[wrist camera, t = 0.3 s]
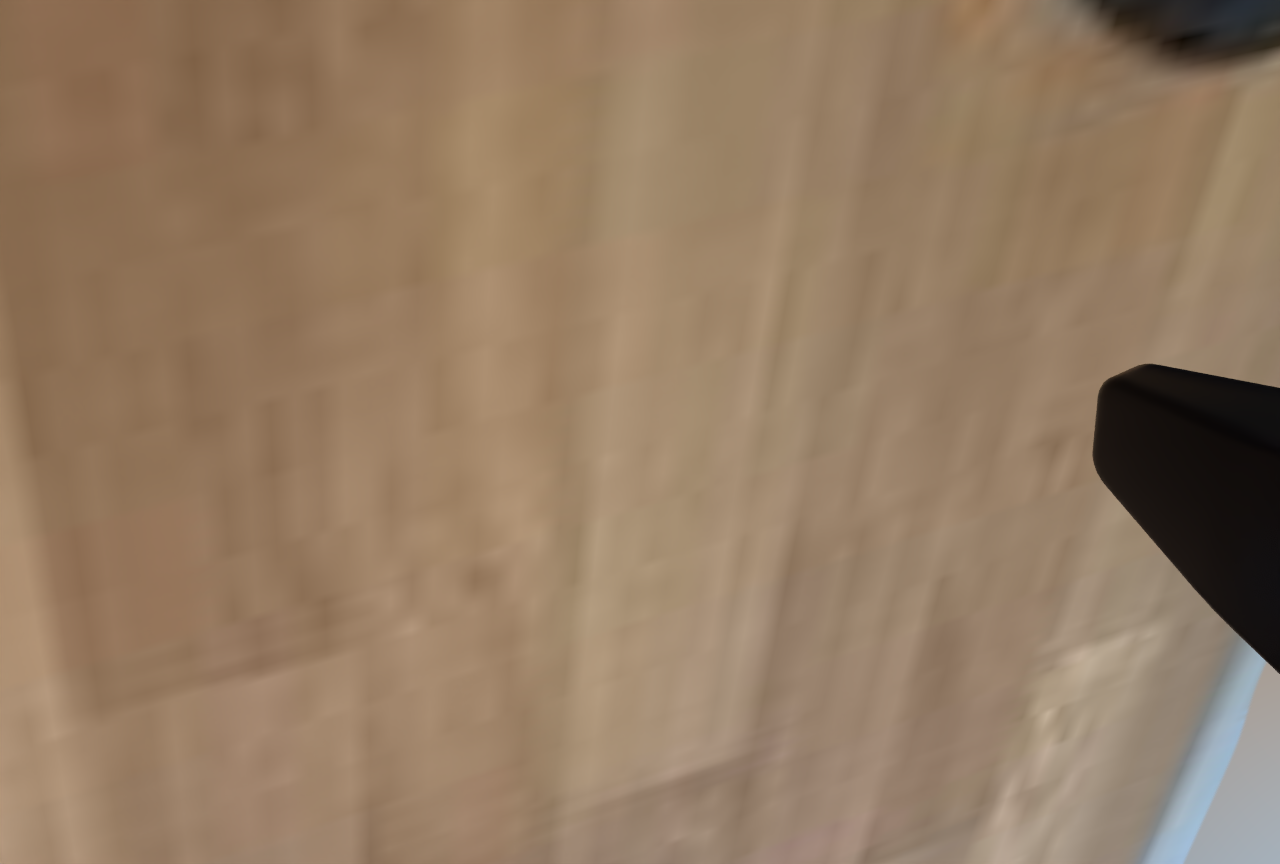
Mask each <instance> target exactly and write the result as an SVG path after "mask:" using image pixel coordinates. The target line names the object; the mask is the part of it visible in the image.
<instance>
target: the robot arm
mask: <svg viewBox="0 0 1280 864" xmlns="http://www.w3.org/2000/svg"><path fill="white" fill-rule="evenodd" d="M1093 461H1094V465H1095V468H1096V471H1097V473H1098V475H1099V476H1100V478H1101V480H1102V481H1103V483H1104V484H1105V485H1106V486H1107V488H1108V489H1109V490H1110V491H1111V492H1112V493H1113V495H1114V496H1115V497H1116V498H1117V499H1118V500H1119V502H1120V503H1121V504H1122V505H1123V506H1124V507H1125V509H1126V510H1127V511H1128V512H1129V513H1130V514H1131V516H1132V517H1133V518H1134V519H1135V520H1136V521H1137V523H1138V524H1139V525H1140V526H1141V527H1142V528H1143V529H1144V531H1145V532H1146V533H1147V534H1148V535H1149V536H1150V538H1151V539H1152V540H1153V541H1154V542H1155V543H1156V545H1157V546H1158V547H1159V548H1160V549H1161V550H1162V552H1163V553H1164V554H1165V555H1166V556H1167V557H1168V559H1169V560H1170V561H1171V562H1172V563H1173V564H1174V566H1175V567H1176V568H1177V569H1178V570H1179V571H1180V573H1181V574H1182V575H1183V576H1184V577H1185V578H1186V580H1187V581H1188V582H1189V583H1190V584H1191V585H1192V587H1193V588H1194V589H1195V590H1196V591H1197V592H1198V593H1199V594H1200V595H1201V597H1202V598H1203V599H1204V600H1205V601H1206V602H1207V603H1208V604H1209V605H1210V606H1211V608H1212V609H1213V610H1214V611H1215V612H1216V613H1217V614H1218V615H1219V616H1220V617H1221V618H1222V619H1223V620H1224V621H1225V622H1226V623H1227V624H1228V625H1229V626H1230V627H1231V628H1232V629H1233V630H1234V631H1235V632H1236V633H1237V634H1238V635H1239V636H1240V637H1241V638H1243V639H1244V640H1245V641H1246V642H1247V643H1248V644H1249V645H1250V646H1251V647H1252V648H1253V649H1254V650H1255V651H1256V652H1257V653H1258V654H1259V655H1260V656H1261V657H1262V658H1263V659H1265V660H1266V661H1267V662H1268V663H1269V664H1270V665H1271V666H1272V667H1273V668H1274V669H1275V670H1276V671H1277V672H1278V673H1279V674H1280V388H1277V387H1272V386H1267V385H1261V384H1256V383H1251V382H1246V381H1240V380H1235V379H1230V378H1225V377H1219V376H1214V375H1209V374H1203V373H1198V372H1193V371H1188V370H1182V369H1177V368H1172V367H1167V366H1161V365H1156V364H1143V365H1139V366H1136V367H1134V368H1131V369H1129V370H1127V371H1125V372H1122V373H1120V374H1118V375H1116V376H1113V377H1111V378H1109V379H1108V380H1106V381H1105V382H1104V383H1103V385H1102V387H1101V388H1100V390H1099V394H1098V401H1097V411H1096V422H1095V432H1094V442H1093Z"/></svg>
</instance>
